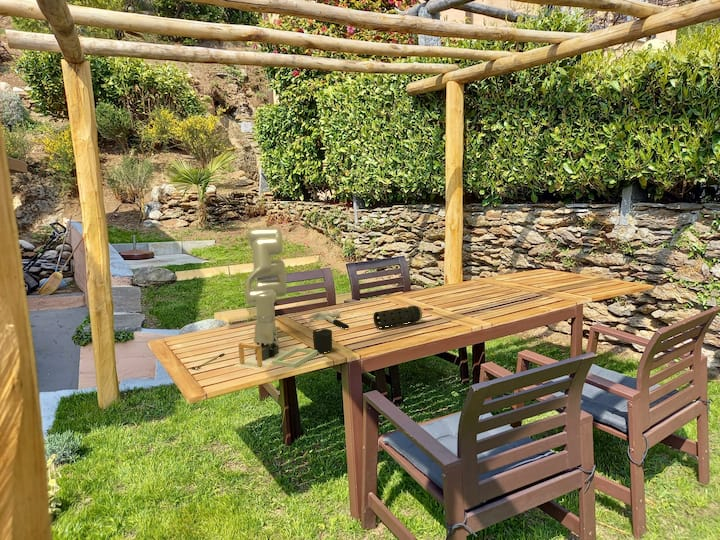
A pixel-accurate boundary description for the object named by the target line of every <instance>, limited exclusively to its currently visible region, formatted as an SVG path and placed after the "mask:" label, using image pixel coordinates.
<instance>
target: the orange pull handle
mask: <svg viewBox="0 0 720 540" xmlns="http://www.w3.org/2000/svg"><path fill="white" fill-rule="evenodd" d="M237 346H238V358H239V360H238V361H239V363H240V364H242V363H244V362H245V360H246V359H245V349H250V350H255V349H256V351H257V366H259V367H260V366H262V350H261V345H257V344H253V343H245V342H240V343H238V345H237Z"/></svg>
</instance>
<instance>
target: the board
mask: <svg viewBox="0 0 720 540" xmlns="http://www.w3.org/2000/svg"><path fill="white" fill-rule="evenodd" d="M289 351H290V350H289ZM289 351H288V350H283V349H279V353H278V354H276V355H274V357H272V358H268V359H266V360H265V361H262V366H260V367H259V366H257V360H256V354H254V355H252V356H250V357H248V358H245V359H244V360H245V362H244V363H242V364H240V362H238V363H237V364H234V365H233V366H234V367H238V368H239V367H240V368H246V369H251V370H257V371H259V370H261V369H263V368H264V367H266V366H268V365H270V364H272V360H274V359H276V358H278V357H280V356H282V355H284V354H285V353H287V352H289Z"/></svg>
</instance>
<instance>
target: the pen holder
mask: <svg viewBox="0 0 720 540" xmlns="http://www.w3.org/2000/svg"><path fill="white" fill-rule="evenodd" d="M312 339H313V340H312V341H313V350H318V353H324V352H328V351H331V350H332V351H333V331H332V329H328V328H322V329H320V330H312ZM332 351H331V352H332Z"/></svg>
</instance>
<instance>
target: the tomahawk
mask: <svg viewBox="0 0 720 540" xmlns="http://www.w3.org/2000/svg"><path fill="white" fill-rule="evenodd" d="M225 355H226V354H225V353H220V354H219V355H218V356H217V357H214V358H212V359H210V360H208V361H206V362H204V363H202V364H200V365H199V366H196V367H191V370H195V371H199V370H201V368H202V367H204V366H206V365H207V364H209V363H211V362H213V361H216V360H217V358H218V357H220V358H222V357H223V356H225ZM218 359H219V358H218ZM195 368H197V369H195Z"/></svg>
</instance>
